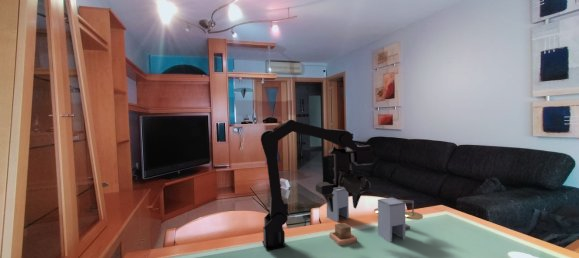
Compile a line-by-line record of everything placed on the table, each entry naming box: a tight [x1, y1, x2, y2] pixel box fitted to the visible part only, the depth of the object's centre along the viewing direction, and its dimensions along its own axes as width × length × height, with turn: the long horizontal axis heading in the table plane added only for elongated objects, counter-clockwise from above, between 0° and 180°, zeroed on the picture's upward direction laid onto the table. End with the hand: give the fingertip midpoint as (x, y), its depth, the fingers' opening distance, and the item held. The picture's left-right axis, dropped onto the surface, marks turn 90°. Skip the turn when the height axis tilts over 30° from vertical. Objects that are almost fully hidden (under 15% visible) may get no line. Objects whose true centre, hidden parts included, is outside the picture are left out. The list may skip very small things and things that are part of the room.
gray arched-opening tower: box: [377, 197, 406, 243], centre depth 98 cm, size 6×6×13 cm
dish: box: [329, 231, 358, 246], centre depth 97 cm, size 7×7×2 cm
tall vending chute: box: [326, 188, 350, 223], centre depth 117 cm, size 6×6×13 cm
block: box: [334, 222, 352, 240], centre depth 97 cm, size 4×4×4 cm
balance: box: [373, 199, 424, 231], centre depth 107 cm, size 6×24×13 cm, turn 19°
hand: (343, 209), depth 96 cm, fingers open, 9 cm apart
